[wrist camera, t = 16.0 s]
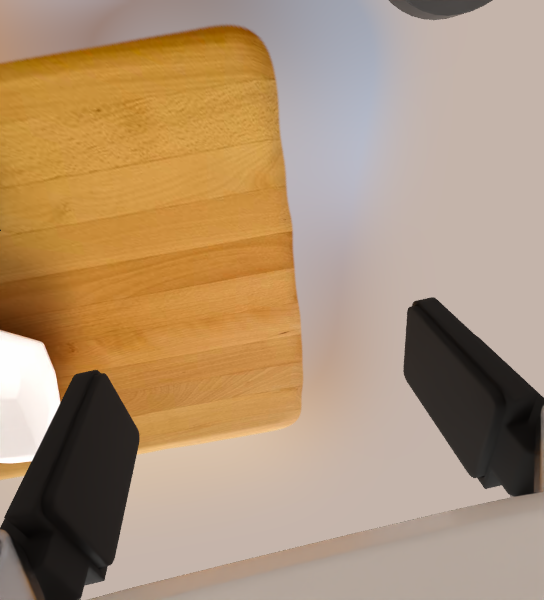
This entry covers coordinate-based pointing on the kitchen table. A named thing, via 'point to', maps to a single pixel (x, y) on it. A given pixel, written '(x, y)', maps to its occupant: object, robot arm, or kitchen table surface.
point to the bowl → (25, 396)
